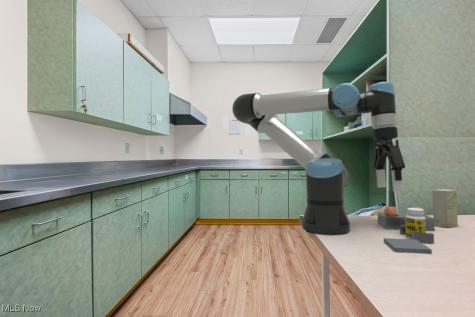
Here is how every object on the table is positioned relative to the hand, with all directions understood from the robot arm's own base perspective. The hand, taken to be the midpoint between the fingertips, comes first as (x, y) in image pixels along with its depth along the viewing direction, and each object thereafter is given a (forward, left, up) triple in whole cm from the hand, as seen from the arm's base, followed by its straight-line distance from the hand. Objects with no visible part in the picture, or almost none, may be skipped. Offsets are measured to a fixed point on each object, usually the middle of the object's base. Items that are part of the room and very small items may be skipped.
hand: (389, 189), depth 88 cm
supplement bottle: (+2, -14, -13) cm, 19 cm away
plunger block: (+4, -1, -13) cm, 13 cm away
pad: (-4, -23, -13) cm, 27 cm away
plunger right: (+8, -1, -10) cm, 13 cm away
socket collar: (+2, -14, -13) cm, 19 cm away
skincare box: (+18, +3, -13) cm, 22 cm away
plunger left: (0, -1, -10) cm, 10 cm away
